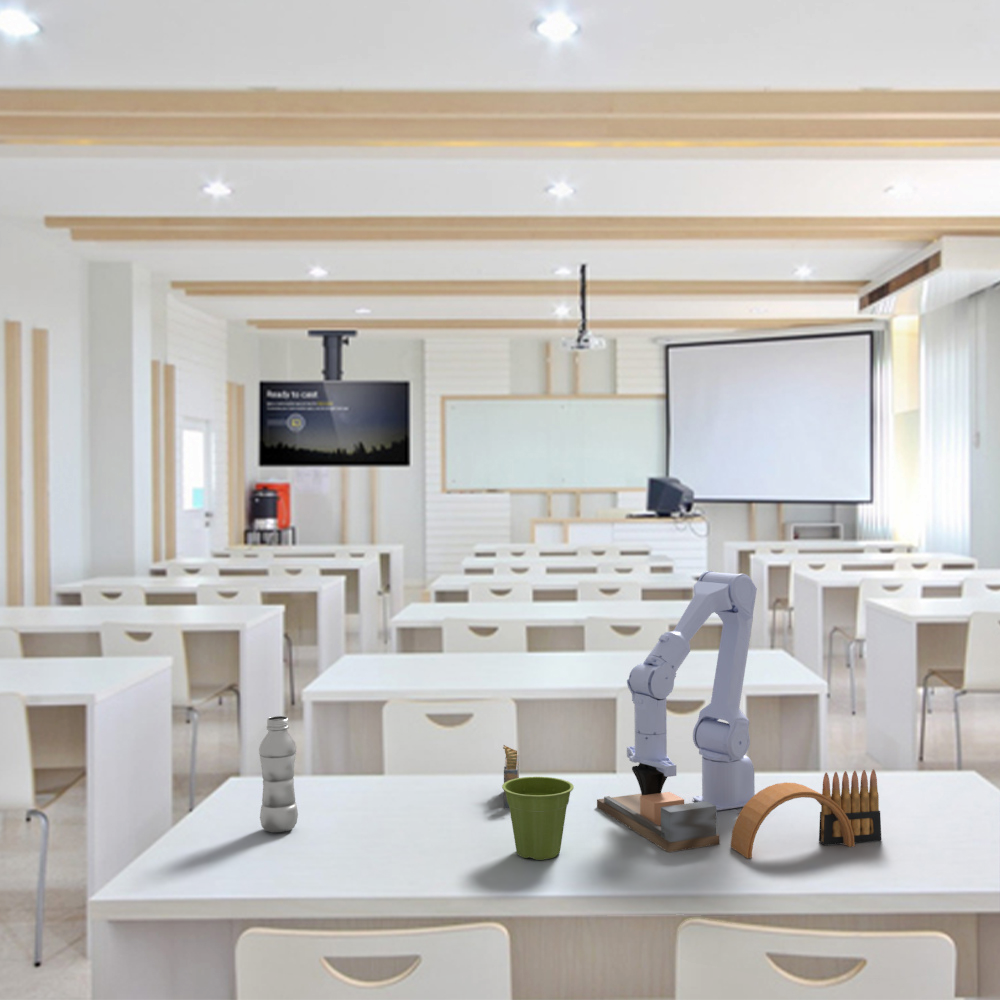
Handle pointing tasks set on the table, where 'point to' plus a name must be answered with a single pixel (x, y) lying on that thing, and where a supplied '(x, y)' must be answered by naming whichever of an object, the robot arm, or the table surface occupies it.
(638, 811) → the keeper track
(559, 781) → the plant pot
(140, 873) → the table surface
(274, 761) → the plastic bottle
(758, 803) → the arch
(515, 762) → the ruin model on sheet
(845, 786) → the ammunition clip
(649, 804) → the block
